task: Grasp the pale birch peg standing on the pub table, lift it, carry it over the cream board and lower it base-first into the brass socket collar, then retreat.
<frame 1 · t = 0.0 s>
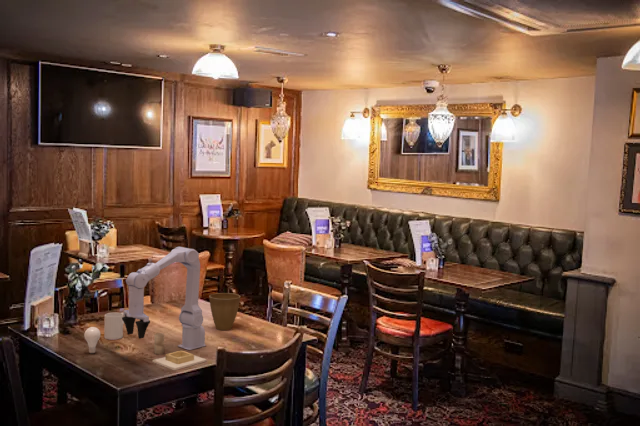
hand: (135, 336, 260), 10 cm above the table, tool pointing down, fingers open, 7 cm apart
birch peg: (159, 353, 272), on the table
lightbulb: (92, 353, 268), on the table
mug: (116, 336, 294), on the table
plant pot: (223, 328, 315), on the table
socket plate: (179, 361, 262), on the table
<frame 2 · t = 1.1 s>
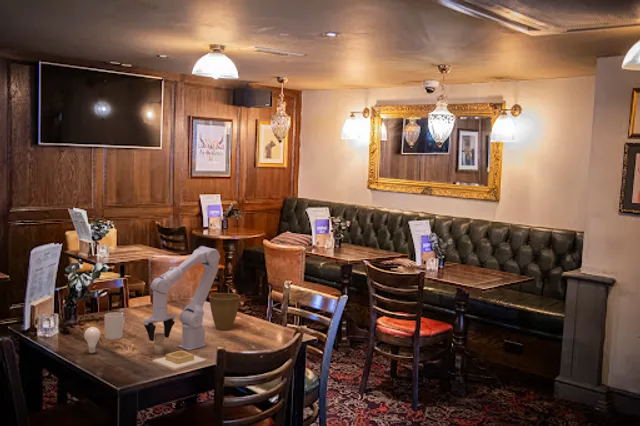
hand: (159, 338, 272), 6 cm above the table, tool pointing down, fingers open, 7 cm apart
nothing on the table moved.
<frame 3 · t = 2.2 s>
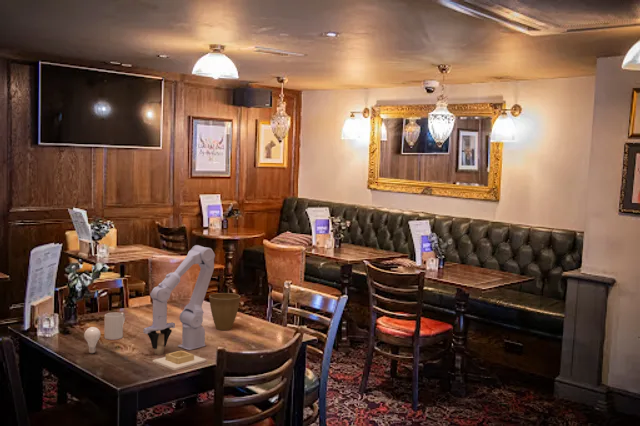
hand: (159, 347, 272), 2 cm above the table, tool pointing down, fingers closed on birch peg, 4 cm apart
birch peg: (159, 353, 272), on the table, touching gripper
everything else where it was.
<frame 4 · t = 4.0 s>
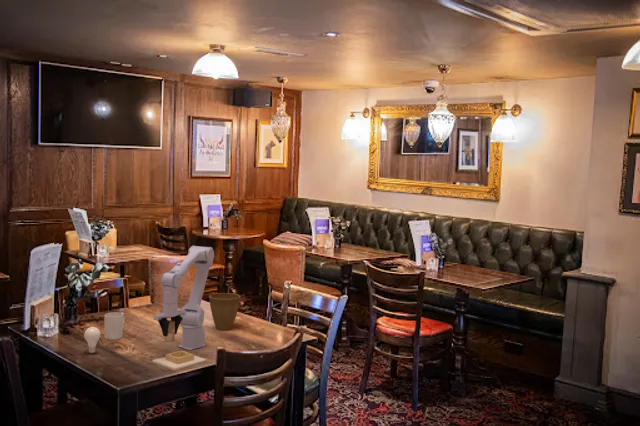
hand: (169, 334, 266), 9 cm above the table, tool pointing down, fingers closed on birch peg, 4 cm apart
birch peg: (169, 340, 266), point 7 cm above the table, touching gripper
everything else where it was.
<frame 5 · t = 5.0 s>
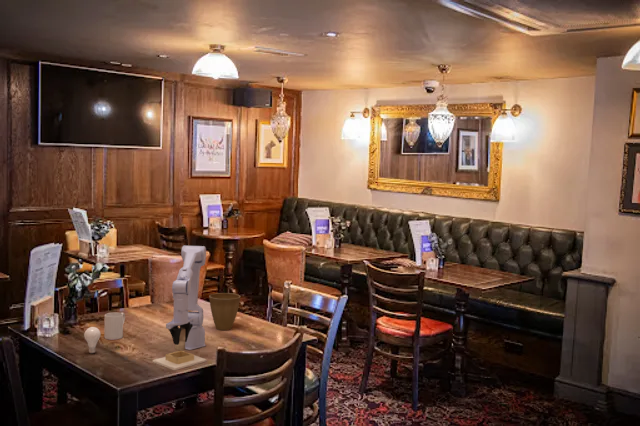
hand: (180, 342, 261), 8 cm above the table, tool pointing down, fingers closed on birch peg, 4 cm apart
birch peg: (179, 348, 261), point 5 cm above the table, touching gripper
everything else where it was.
when the fingers open (4 cm above the table, at t = 6.0 s): birch peg stays where it is, resting on socket plate.
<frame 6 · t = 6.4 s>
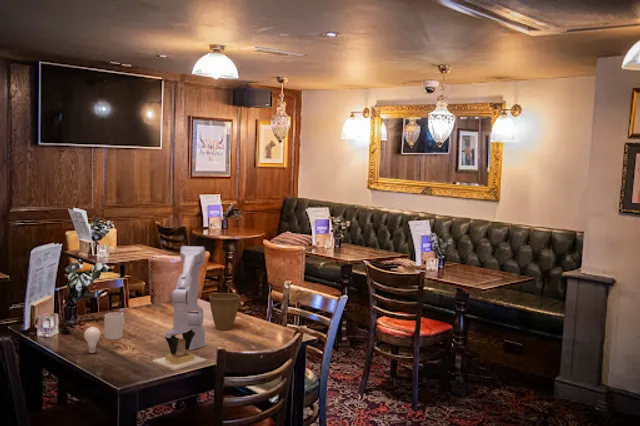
hand: (179, 351, 262), 4 cm above the table, tool pointing down, fingers open, 7 cm apart
birch peg: (179, 359, 262), point 1 cm above the table, touching socket plate
everything else where it was.
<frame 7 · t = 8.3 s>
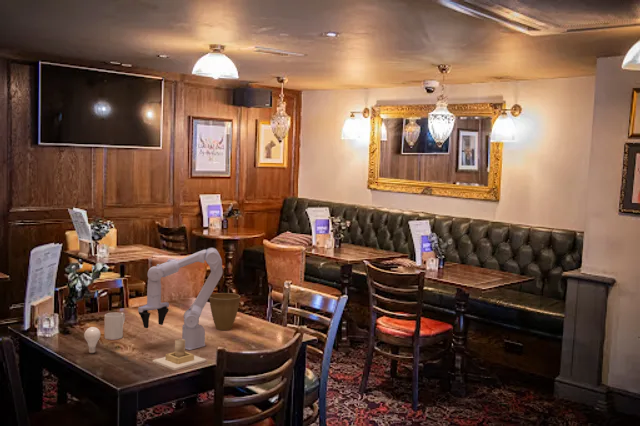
hand: (153, 326, 278), 9 cm above the table, tool pointing down, fingers open, 7 cm apart
nothing on the table moved.
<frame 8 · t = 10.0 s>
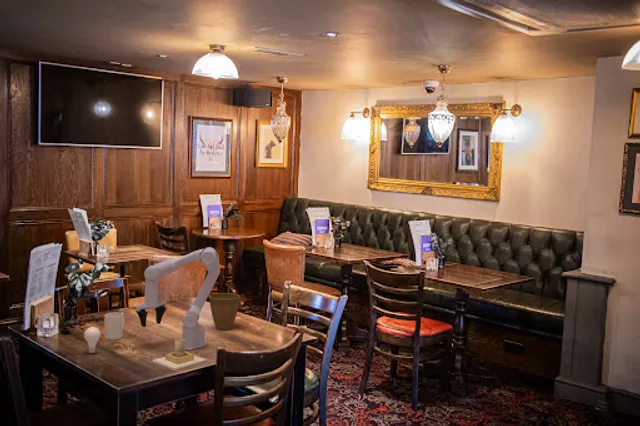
hand: (151, 325, 280), 9 cm above the table, tool pointing down, fingers open, 7 cm apart
nothing on the table moved.
at the end: birch peg 0.0 cm off-centre on the socket plate, point 0.8 cm above the socket plate's base; birch peg tilted 0°; the gripper is holding nothing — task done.
